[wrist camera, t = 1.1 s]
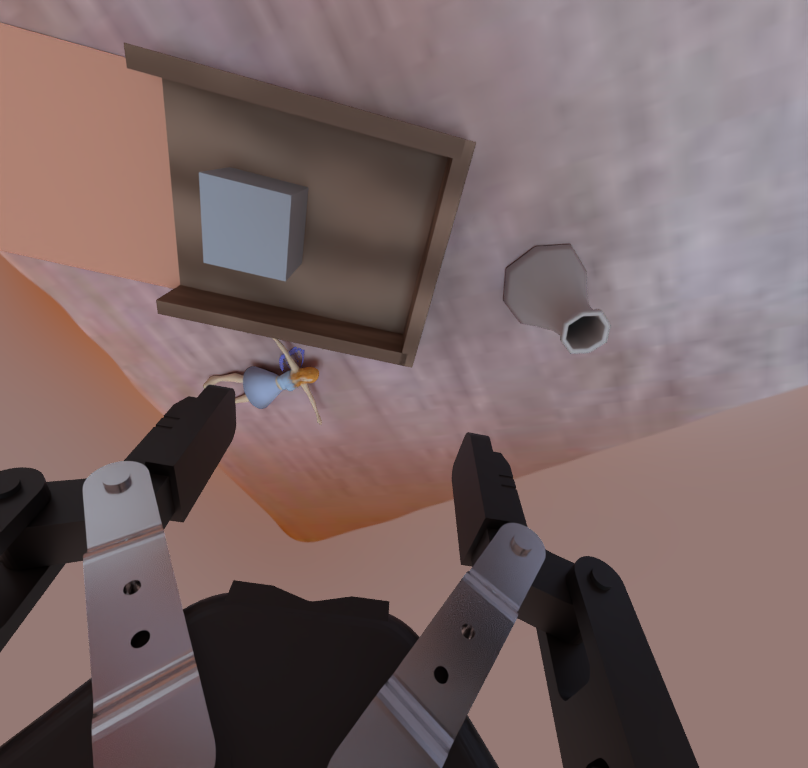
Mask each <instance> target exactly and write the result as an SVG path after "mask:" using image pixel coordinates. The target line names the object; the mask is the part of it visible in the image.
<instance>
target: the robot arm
mask: <svg viewBox="0 0 808 768" xmlns="http://www.w3.org/2000/svg"><path fill="white" fill-rule="evenodd" d="M235 430H236V406H235V391H234V389H232V388H227V387H221V386H216V385H208V386H206V388H205V389H204V390H203V391H202V392H201V394H200V395H199V396H198V397H197V398H195V397H190V396H189V397H187V398H185V399H183V400H181V401H179V402H178V403H176V404H174V405H173V406H172V407H171V408H170V409H169V411H168V412H167V413H166V414H165V415H164V418H161V420H160V421H159V422H158V423H157V424H156V427H153V429H152V430H151V431H150V432H149V433H148V434H147V435H146V436H145V438H144V439H143V440H142V441H141V442H140V443H139V444H138V445H137V447H136V448H135V449H134V450H133V451H132V452H131V453H130V454H129V455H128V457H127V458H126V459H125V460H124V461H120V462H115V463H112V464H108V465H106V466H103V467H101V468H99V469H98V470H96V471H95V472H93V473H92V474H91V475H90V476H89V477H88V478H86V479H77V480H65V481H53V482H46V480H45V478H44V476H43V474H42V473H41V472H40V471H38V470H36V469H32V468H12V469H7V470H3V471H0V652H1V651H2V649H3V648H4V646H5V645H6V644H7V642H8V641H9V640H10V638H11V637H12V636H13V634H14V633H15V632H16V630H17V629H18V627H19V626H20V625H21V623H22V622H23V621H24V619H25V618H26V617H27V615H28V614H29V613H30V611H31V610H32V608H33V607H34V606H35V604H36V603H37V601H38V600H39V599H40V598H41V596H42V595H43V594H44V592H45V591H46V589H47V588H48V587H49V585H50V584H51V583H52V581H53V580H54V579H55V577H56V576H57V575H58V573H59V572H60V570H61V569H62V568H63V566H64V565H65V564H66V563H71V562H77V561H83V567H84V568H83V569H84V582H85V595H86V609H87V622H88V637H89V651H90V664H91V679H89V680H88V681H87V682H85V683H84V684H83V685H81V686H80V687H79V688H77V689H76V690H75V691H73V692H72V693H71V694H69V695H68V696H67V697H65V698H64V699H63V700H61V701H60V702H59V703H57V704H56V705H55V706H53V707H52V708H51V709H49V710H48V711H47V712H46V713H44V714H43V715H42V716H40V717H39V718H38V719H36V720H35V721H33V722H32V723H31V724H29V725H28V726H27V727H25V728H24V729H23V730H21V731H20V732H19V733H17V734H16V735H15V736H13V737H12V738H11V739H9V740H8V741H7V742H6V743H4V744H3V745H2V746H0V768H499V767H498V765H497V764H496V762H495V760H494V759H493V757H492V755H491V754H490V752H489V750H488V749H487V747H486V745H485V744H484V742H483V740H482V739H481V737H480V735H479V734H478V732H477V730H476V729H475V727H474V725H473V724H472V722H471V720H470V719H469V717H468V715H467V714H468V712H469V710H470V708H471V706H472V704H473V703H474V701H475V699H476V697H477V695H478V693H479V691H480V689H481V687H482V685H483V683H484V681H485V679H486V677H487V675H488V673H489V672H490V670H491V668H492V666H493V664H494V662H495V660H496V658H497V656H498V654H499V652H500V650H501V648H502V646H503V644H504V642H505V641H506V638H507V637H508V635H509V633H510V631H511V628H512V627H513V625H514V623H515V621H516V619H517V618H518V619H520V620H522V621H524V622H526V623H528V624H530V625H532V626H534V627H536V629H537V634H538V639H539V645H540V649H541V655H542V660H543V665H544V671H545V676H546V681H547V686H548V691H549V696H550V701H551V707H552V712H553V717H554V722H555V727H556V732H557V737H558V743H559V748H560V753H561V758H562V763H563V768H699V766H698V763H697V761H696V758H695V756H694V754H693V751H692V749H691V746H690V744H689V741H688V739H687V737H686V734H685V732H684V729H683V727H682V724H681V722H680V719H679V717H678V715H677V712H676V710H675V708H674V705H673V702H672V700H671V698H670V695H669V693H668V691H667V688H666V685H665V683H664V681H663V678H662V676H661V673H660V671H659V668H658V666H657V664H656V661H655V659H654V656H653V654H652V652H651V649H650V646H649V644H648V642H647V639H646V637H645V634H644V632H643V629H642V627H641V625H640V622H639V620H638V618H637V615H636V612H635V610H634V608H633V605H632V603H631V600H630V598H629V595H628V593H627V591H626V588H625V586H624V584H623V581H622V580H621V578H620V577H619V575H618V574H617V573H616V572H615V571H614V570H613V569H612V568H611V567H610V566H609V565H608V564H606V563H605V562H603V561H601V560H600V559H597V558H594V557H590V556H584V557H581V558H579V559H578V560H577V561H576V562H575V563H573V562H570V561H568V560H566V559H564V558H561V557H559V556H557V555H555V554H553V553H551V552H549V551H547V550H546V549H545V547H544V545H543V542H542V541H541V539H540V538H539V537H538V535H537V534H536V533H535V532H533V531H532V530H531V529H529V528H528V527H527V524H526V520H525V517H524V514H523V510H522V506H521V503H520V500H519V496H518V493H517V490H516V485H515V482H514V479H513V475H512V471H511V468H510V465H509V463H508V462H507V461H506V459H505V458H504V457H503V455H502V454H501V453H498V452H493V449H492V445H491V441H490V438H489V436H485V435H480V434H474V433H469V432H468V433H466V435H465V437H464V439H463V442H462V444H461V447H460V449H459V452H458V454H457V457H456V459H455V462H454V465H453V470H452V486H453V496H454V504H455V514H456V524H457V533H458V542H459V551H460V560H461V565H466V566H472V568H471V570H470V571H468V572H467V573H466V574H465V575H464V577H463V578H462V579H461V581H460V582H459V584H458V585H457V586H456V588H455V589H454V591H453V592H452V593H451V595H450V596H449V597H448V599H447V600H446V601H445V603H444V604H443V606H442V607H441V608H440V610H439V611H438V613H437V614H436V615H435V617H434V618H433V619H432V621H431V622H430V624H429V625H428V626H427V628H426V629H425V631H424V632H423V634H422V635H421V636H420V637H419V636H418V635H417V634H416V633H415V632H414V631H413V630H412V629H411V628H410V627H409V626H408V625H407V624H405V623H404V622H403V621H401V620H400V619H398V618H396V617H394V616H392V615H390V614H389V602H388V601H382V600H375V599H367V598H359V597H345V598H337V599H330V600H322V601H313V602H312V601H307V600H305V599H302V598H300V597H298V596H295V595H293V594H290V593H289V592H286V591H284V590H282V589H279V588H277V587H275V586H271V585H264V584H256V583H249V582H242V581H235V580H234V581H233V583H232V585H231V588H230V590H229V593H223V594H219V595H215V596H211V597H209V598H206V599H203V600H200V601H198V602H196V603H194V604H192V605H190V606H188V607H187V608H185V609H182V604H181V600H180V596H179V592H178V588H177V583H176V579H175V575H174V571H173V567H172V563H171V559H170V554H169V550H168V546H167V542H166V538H165V534H164V529H165V527H166V525H167V524H168V522H169V521H177V522H184V521H185V519H186V517H187V516H188V514H189V512H190V511H191V509H192V507H193V505H194V504H195V502H196V500H197V499H198V497H199V495H200V494H201V492H202V490H203V489H204V487H205V485H206V484H207V482H208V480H209V479H210V477H211V475H212V474H213V472H214V470H215V469H216V467H217V465H218V464H219V462H220V460H221V459H222V457H223V455H224V453H225V452H226V450H227V448H228V447H229V445H230V443H231V442H232V440H233V437H234V434H235Z"/></svg>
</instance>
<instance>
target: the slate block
mask: <svg viewBox="0 0 808 768" xmlns="http://www.w3.org/2000/svg"><path fill="white" fill-rule="evenodd" d="M199 185H200V204H201V223H202V242H203V261H204V263H207V264H212V265H216V266H220V267H225V268H229V269H233V270H238V271H242V272H247V273H251V274H255V275H260V276H264V277H268V278H273V279H277V280H281V281H287V279H288V278H289V277H290V276H291V275H292V274H293V273H294V272H295V270H296V269H297V268H298V267H299V266H300V265H301V264H302V256H303V245H304V233H305V222H306V210H307V199H308V187H305V186H301V185H297V184H293V183H289V182H286V181H282V180H278V179H274V178H270V177H266V176H262V175H258V174H254V173H251V172H247V171H243V170H239V169H235V168H231V167H228V168H221V169H215V170H209V171H202V172H199Z"/></svg>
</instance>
